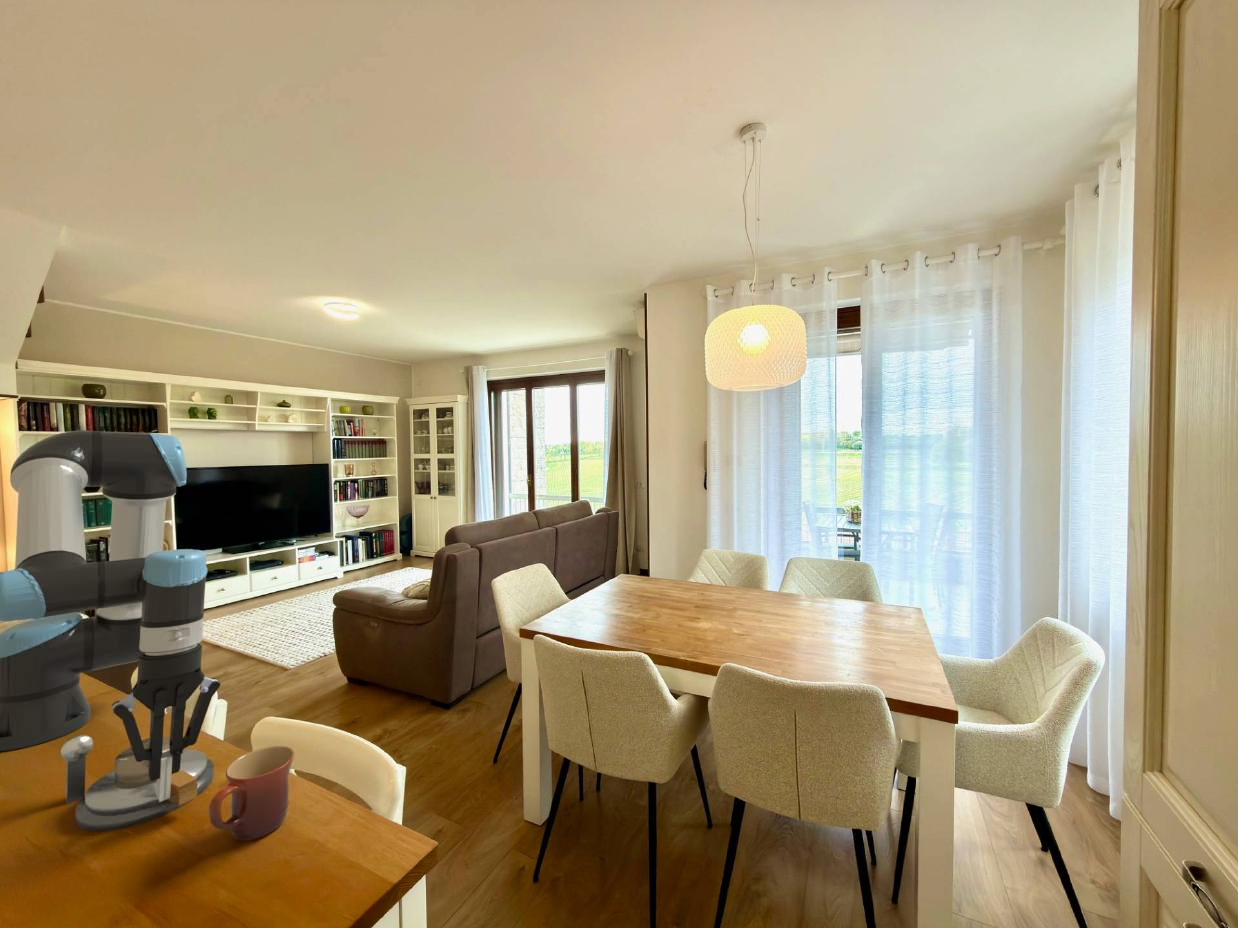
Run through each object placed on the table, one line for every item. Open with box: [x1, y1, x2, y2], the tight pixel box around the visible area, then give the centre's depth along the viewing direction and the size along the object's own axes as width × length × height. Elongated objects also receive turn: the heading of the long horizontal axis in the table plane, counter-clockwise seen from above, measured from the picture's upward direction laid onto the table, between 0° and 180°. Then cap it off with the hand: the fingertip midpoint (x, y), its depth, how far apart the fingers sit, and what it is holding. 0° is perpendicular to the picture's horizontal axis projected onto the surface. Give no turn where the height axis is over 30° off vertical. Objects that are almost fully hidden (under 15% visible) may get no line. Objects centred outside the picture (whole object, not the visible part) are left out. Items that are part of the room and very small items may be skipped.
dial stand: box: [60, 734, 94, 805], centre depth 82 cm, size 3×4×11 cm
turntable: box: [85, 748, 208, 815], centre depth 82 cm, size 20×15×4 cm
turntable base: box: [74, 757, 215, 832], centre depth 83 cm, size 17×17×2 cm
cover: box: [114, 736, 170, 789], centre depth 84 cm, size 8×8×6 cm
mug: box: [208, 745, 295, 841], centre depth 75 cm, size 12×9×10 cm
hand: (163, 795), depth 77 cm, fingers closed
